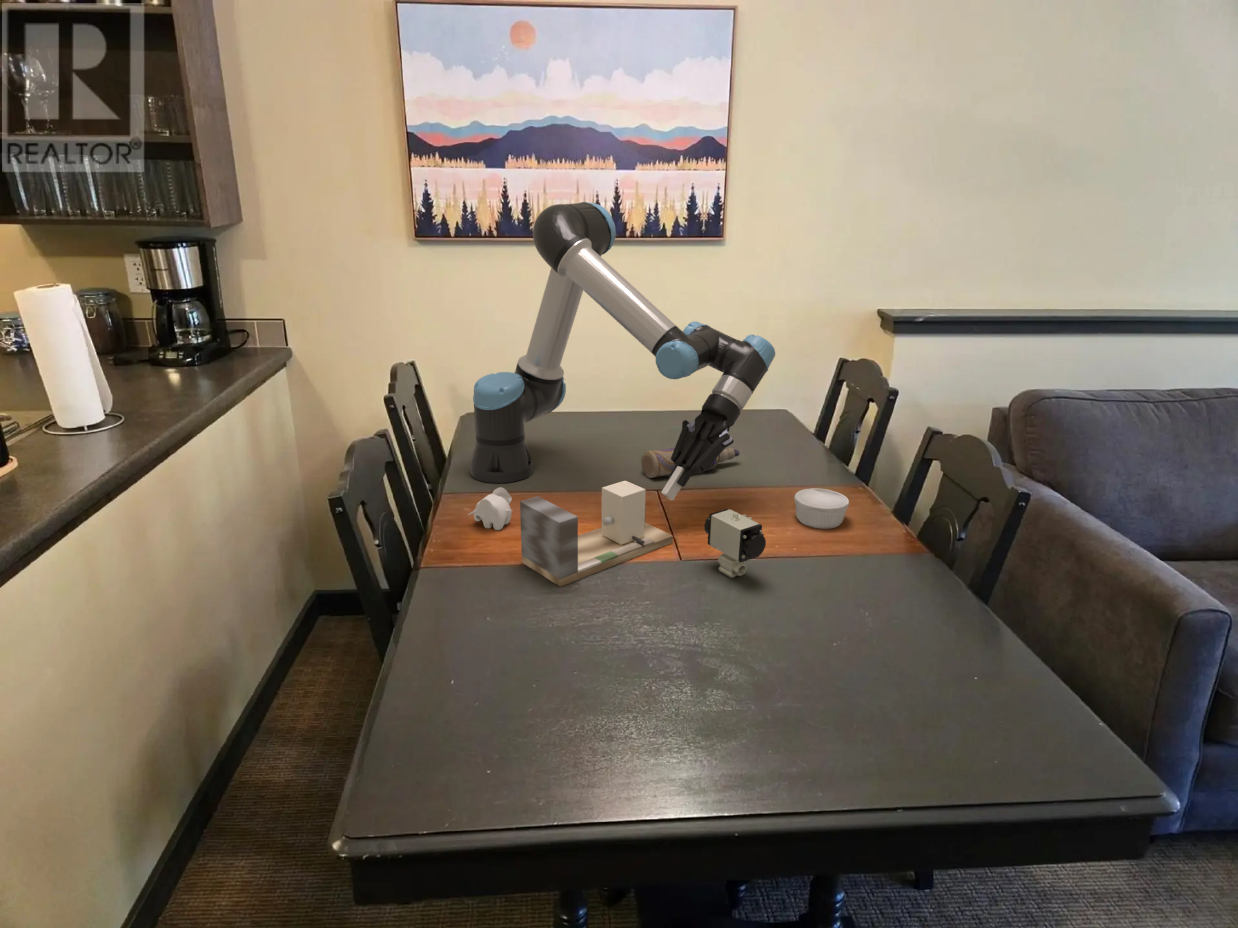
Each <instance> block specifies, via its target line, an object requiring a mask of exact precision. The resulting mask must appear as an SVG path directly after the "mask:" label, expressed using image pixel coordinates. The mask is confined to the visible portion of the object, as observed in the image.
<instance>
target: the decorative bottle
mask: <svg viewBox="0 0 1238 928" xmlns="http://www.w3.org/2000/svg"><path fill="white" fill-rule="evenodd" d="M674 449H675V447H671V448H663V449H655V450H646V451H644V452H643V453H642V456H641V469H642V471H643V473H644V475H645V476H646V477H647V478H649V479H652V478H653V479H654V478H660V477H665V476H667V477H669V475H670V473H671V472H672V470H673V469H674V467H675V463H674V462H673V461H672V460H671V456H672V454H673V451H674ZM738 456H740V450H739V449H738V448H737V449H735V448H731V447H727V448H725V449H724V450H723V451H722V452H721V453H720V455H719V456H718V457H717V458H716V459H715V460H714V461H713V462H712V463H711V464H710V466H709V467H708V468H707V469H706V470H705V471H704V472H709V471H712V469H714V468H715V467H716V466H717V465H718V463H723V462H725V461H727V460H733V459H734V458H735V457H738ZM700 467H701V466H700Z"/></svg>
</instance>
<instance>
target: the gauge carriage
mask: <svg viewBox="0 0 1238 928" xmlns="http://www.w3.org/2000/svg"><path fill="white" fill-rule="evenodd" d="M646 491H647V490H646V489H645V488H644V487H641V486H639V485H636V484H634V483H632V482H629V481H627V480H623V481H619V482H616V483H613V484H609V485H607V486H603V487H601V527H602V533H601V534H602V535H604V536H605V537H607V538H609V539H611V540H613V541H615V542H617V543H619V544H621V545H622V544H625V543H628V542H630V541H633V540H635V541H637V542H639V543H641V544H644V541H643V540H641V539H639V538H641V537H644V529H645V523H646V509H647V507H646V505H647V504H646V494H647V493H646Z"/></svg>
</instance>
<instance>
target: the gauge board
mask: <svg viewBox="0 0 1238 928" xmlns="http://www.w3.org/2000/svg"><path fill="white" fill-rule="evenodd" d="M519 510H520V511H519V513H520V514H519V515H520V516H519V517H520V540H521V541H520V543H521V544H520V545H521V547H520V548H521V564H523V565H525V566H527V567H528V568H529V569H531V570H533V571H535V572H536V573H538V574H539V575H541V576H542V577H544V578H545V579H547V580H549V581H551V582H552V583H554V584H556V585H557V586H559V587H561V588H562V587H563V586H566V585H568V584H571V583H574V582H576V581H579V580H581V579H584V578H586V577H589V576H591V575H593V574H595V573H599V572H602V571H605V570H607V569H609V568H611V567H614V566H616V565H619V564H621V563H624V562H626V561H629V560H632V559H635V558H637V557H640V556H643V555H645V554H647V553H650V552H653V551H654V550H657V549H660V548H664V547H665V546H667V545H670V544H673V543H674V542H673V540H674V535H672V534H670V533H668V532H666V531H664V530H661V529H660V528H658V527H655V526H653V525H651V524H649V523H647V522H645V529H644V537H641V538H639V539H641V540H643V541H644V544H641V543H639V542H637V541H635V540H633V541H630V542H628V543H625V544H622V545H621V544H619V543H617V542H615V541H613V540H611V539H609V538H607V537H605V536H604V535H602V534H601V533H602V526H600V527H599V528H595V529H593V530H590V531H587V532H585V533H581V534H579V533H578V532H579V527H578V525H579V521H578V520H579V518H578V517H579V516H577V515H575V514H573V513H571V512H569V511H567V510H566V509H564V508H561V507H559V506H558V505H556V504H554V503H552V502H550V501H548V500H546V499H544V498H543V497H540V496H538V495H537V496H534V497H529V498H527V499H523V500H520V501H519Z"/></svg>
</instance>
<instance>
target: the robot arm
mask: <svg viewBox="0 0 1238 928" xmlns="http://www.w3.org/2000/svg"><path fill="white" fill-rule="evenodd" d="M616 233H617V231H616V225H615V221H614V219H613V217H612V215H611V214H610V212H609V211H608V210H607V209H606V208H605V207H604V206H602V205H600V204H597V203H595V202H594V203H593V202H587V201H581V202H579V203H578V202H577V203H563V204H562V203H560V204H553V205H550V206H548V207H546V208H545V209H543V210H542V211H541V212H540V213H539V214H538V215H537V217H536V219H535V222H534V224H533V230H532V237H533V238H532V239H533V244H534V246H535V249H536V250H537V252H538V254H539V255H540V257H541V258H542V259H543V261H545V262H546V264H547V265H548V266H549V267H550V270H549V275H548V278H547V282H546V285H545V288H544V292H543V296H542V297H541V303H540V306H539V308H538V312H537V316H536V320H535V323H534V326H533V330H532V334H531V337H530V339H529V340H530V341H529V345H528V349H527V351H526V354H523V355H522V356H520V357H519V358H518V360H517V364H516V366H515V370H514V372H511V371H500V372H499V371H498V372H496V373H489V374H486V375H484V376H482V377H480V378H478V380H476V382H475V383H474V386H473V397H472V401H473V402H472V403H473V412H474V413H473V414H474V429H475V430H474V431H475V445H474V449H473V452H472V457H471V459H470V461H469V462H470V463H469V472H470V473H469V474H470V476H471V477H472V478H473V479H475V480H477V481H481V482H484V483H485V482H486V483H491V484H492V483H495V484H504V483H515V482H518V481H521V480H524V479H527V478H529V477H530V476H531V475H532V474H533V473H534V462H533V458H532V456H531V453H530V450H529V448H528V445H527V443H526V434H525V433H526V431H525V430H526V429H525V428H526V425H525V424H526V423H528V422H530V421H533V420H535V419H537V418H540V417H542V416H546V415H548V414H550V413H552V412H553V411H554V410H556V409H557V408H558V407H560V405H561V404H562V403H563V401H564V400H565V396H566V392H567V386H566V385H567V384H566V383H565V382H564V381H565V378H564V375H565V372H564V368H562V366H561V364H562V361H563V357H564V354H565V351H566V348H567V344H568V341H569V338H570V334H571V331H572V328H573V325H574V322H575V319H576V315H577V312H578V309H579V305H580V303H581V302H580V301H581V299H582V297H583V293H584V292H585V293H586V295H588V296H589V297H590V298H591V299H592V300H593V301H594V302H595V303H597V304H598V305H599V307H601V308H602V309H603V310H604V311H605V312H606V313H607V314H608V315H610V317H612V319H614V321H616V322H617V323H618V324H619V325H620V326H622V327H623V328H624V330H626V331H627V332H628V333H629V334H630V335H631V336H632V337H633V338H634V339H636V340H637V341H638V342H639V343H640V344H641V345H643V347H644V348H646V349H647V351H649V353H651V354H652V355H653V356H654V357H655V365H656V367H657V370H658V371H659V373H660V374H661V375H662V376H663V377H665V378H667V379H669V380H679V379H682V378H683V379H684V378H688V377H689V376H691V375H692V374H694V373H696V372H697V371H700V370H702V369H704V368H706V367H708V366H709V367H711V368H713V369H715V370H717V371H719V372H721V373H722V374H721V376H720V378H719V379H718V381H717V382H716V384H715V385H714V387H713V388H712V390H711V393H710V394H709V395H708V396H707V397H706V399H705V401H704V403H703V404H702V406H701V411H700V413H699V414H698V415H697V416H696V417H695V419H694V420H691V421H688V420H687V419H684V420H682V423H681V424H682V426H681V432H680V434H679V437H678V438H677V441H676V443H675V446H674V448H675V449H674V451H673V454H672V456H671V460H672V461H673V462H674V463H675V467H674V469H673V470H672V472H671V473H670V475H668V476H667V477H668V478H667V479H668V481H667V482H666V484H665V485H664V487H663V489H662V491H661V492H660V493H661V494H662V495H663V496H664V497H665V498H667V499H668V500H670V501H672V502H673V501H674V500H675V498H676V497H677V495H678V494H679V491H680V490H681V488H682V487H685V486H686V485H687V483H688V481H689V480H690V479H691V477H692V476H693V475H695V474H698V475H702V474H704V472H706V471H705V470H706V469H707V468H708V467H709V466H710V464H711V463H712V462H713V461H714V460H715V459H716V458H717V457H718V456H719V455H720V453H721V452H722V451H723V450H724V449H727V448H729V446H731V445H733V444H734V441H735V440H734V439H733V437H732V436H731V435H730V434H729V432H730V429H731V427H733V426H734V425H735V423H736V421H737V420H738V419H739V416H740V415H741V411H743V409H744V408H745V407H746V405H747V403H748V401H749V400H750V399H751V397H752V395H753V394H754V391H756V389H757V387H758V386H759V384H760V383H761V381H762V379H763V378H764V376H765V375H766V373H767V372H768V371H769V368H770V366H771V364H772V362H773V361H774V358H775V357H776V349H775V347H774V346H773V345H772V343H771V342H770V341H769V340H768V339H765V337H763V336H760V335H757V334H756V335H755V334H749V335H747V336H746V337H745V338H744V339H742V340H740V339H737V338H734V337H732V336H731V335H728V334H726V333H724V332H721V331H720V330H718V329H715V328H713V327H711V326H710V325H709V324H704V323H701V322H699V321H697V320H696V321H695V320H694V321H691V322H690V323H688V324H687V326H685V327H684V329H683V330H682V329H680V328H679V326H677V325H676V324H675V323H674V322H673V321H672V320H671V319H669V318H668V316H666V315H665V314H664V313H663V312H662V311H661V310H660V309H658V307H656V306H655V305H654V304H653V303H652V302H651V301H650V300H649V299H648V298H647V297H645V296H644V295H643V294H642V293H641V292H640V291H639V290H638V289H637V288H636V287H634V285H632V284H631V283H630V282H629V281H628V280H627V279H626V278H624V276H623V275H621V274H620V273H619V272H618V271H617V269H615V268H614V267H613V266H612V265H611V264H610V263H608V262H607V260H606V259H604V258H603V257H602V256H603V255H604V254H606V253H608V252H609V250H611V249H612V247H613V246H614V243H615V240H616V235H617V234H616ZM700 466H701V467H700Z"/></svg>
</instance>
